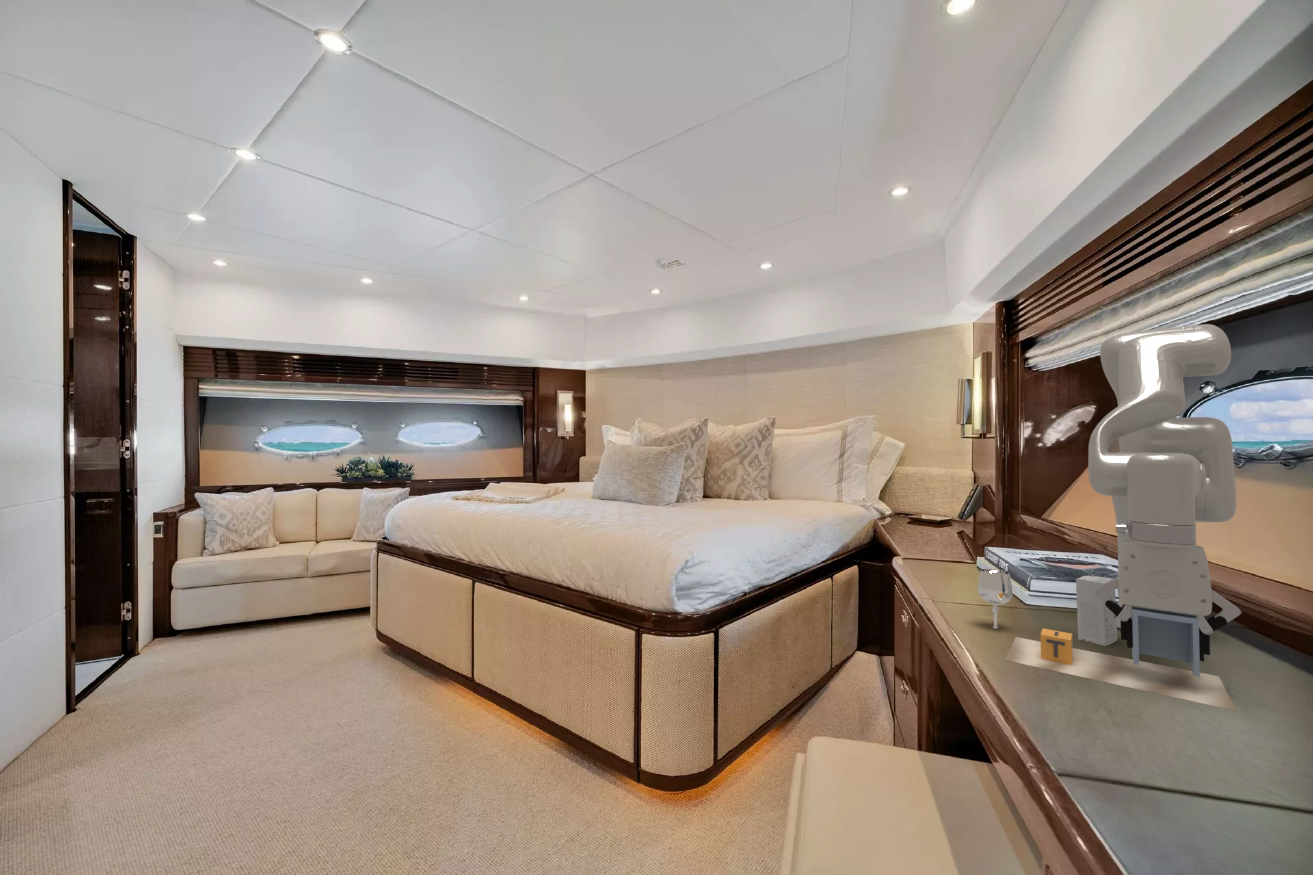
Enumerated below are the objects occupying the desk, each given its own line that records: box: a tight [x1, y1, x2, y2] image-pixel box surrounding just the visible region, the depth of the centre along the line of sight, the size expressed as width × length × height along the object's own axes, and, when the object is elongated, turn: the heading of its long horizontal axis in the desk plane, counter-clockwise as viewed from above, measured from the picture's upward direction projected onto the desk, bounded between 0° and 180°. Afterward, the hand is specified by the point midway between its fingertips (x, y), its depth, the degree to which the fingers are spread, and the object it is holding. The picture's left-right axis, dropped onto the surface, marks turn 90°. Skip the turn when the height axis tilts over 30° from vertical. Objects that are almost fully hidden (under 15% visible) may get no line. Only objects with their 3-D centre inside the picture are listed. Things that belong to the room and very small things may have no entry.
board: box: [1004, 636, 1237, 712], centre depth 84 cm, size 26×14×1 cm, turn 49°
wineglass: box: [977, 568, 1014, 630], centre depth 103 cm, size 6×6×12 cm
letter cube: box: [1040, 628, 1073, 665], centre depth 88 cm, size 4×4×4 cm
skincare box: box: [1075, 575, 1118, 647], centre depth 97 cm, size 6×4×12 cm
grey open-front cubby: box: [1131, 608, 1201, 677], centre depth 80 cm, size 7×7×8 cm
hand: (1163, 651), depth 80 cm, fingers closed on grey open-front cubby, 7 cm apart
